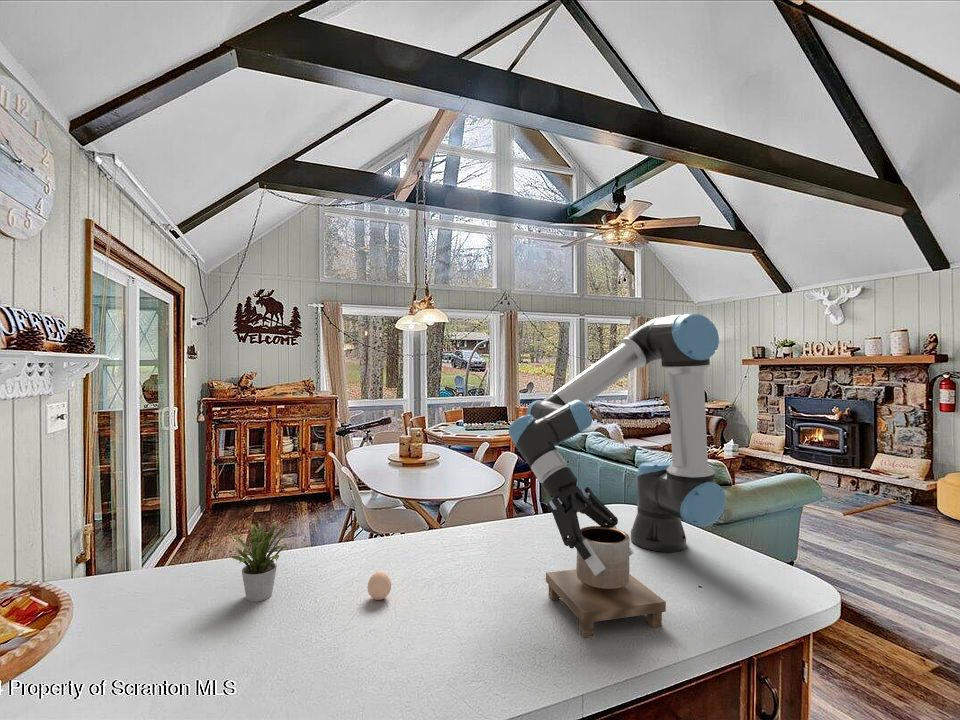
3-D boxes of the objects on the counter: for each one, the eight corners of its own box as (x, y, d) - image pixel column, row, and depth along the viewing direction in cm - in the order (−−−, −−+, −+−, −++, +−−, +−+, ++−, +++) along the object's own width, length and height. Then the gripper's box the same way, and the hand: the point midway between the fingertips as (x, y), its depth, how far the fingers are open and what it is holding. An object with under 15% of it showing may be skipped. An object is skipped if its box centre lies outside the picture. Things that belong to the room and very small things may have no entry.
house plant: (313, 589, 113) (314, 517, 113) (263, 618, 101) (264, 537, 101) (267, 577, 119) (267, 508, 119) (214, 602, 107) (215, 526, 107)
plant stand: (617, 586, 117) (617, 564, 117) (665, 626, 100) (665, 601, 100) (545, 594, 112) (545, 572, 112) (582, 639, 95) (583, 612, 95)
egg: (365, 595, 111) (365, 569, 111) (388, 591, 113) (388, 565, 113) (369, 606, 106) (370, 578, 106) (393, 601, 108) (393, 574, 108)
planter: (631, 594, 100) (632, 546, 100) (575, 588, 102) (576, 541, 102) (626, 571, 110) (627, 527, 110) (576, 566, 113) (577, 523, 112)
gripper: (573, 476, 125) (630, 557, 114) (512, 494, 109) (571, 590, 98) (592, 458, 121) (653, 540, 110) (531, 473, 105) (596, 572, 94)
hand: (615, 564), depth 104 cm, fingers closed on planter, 11 cm apart
